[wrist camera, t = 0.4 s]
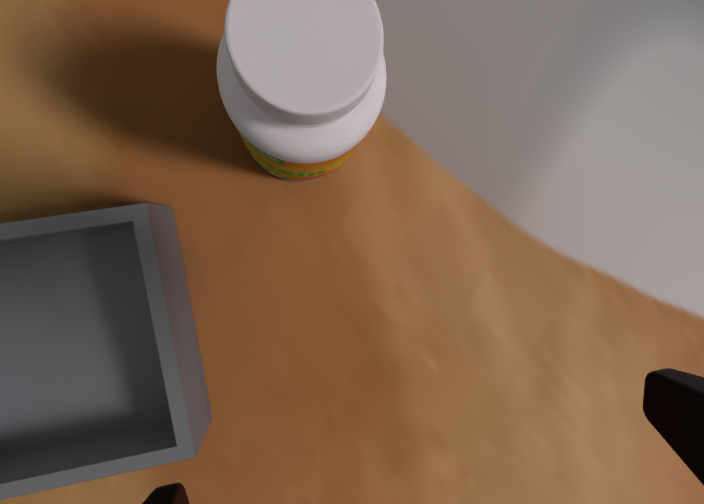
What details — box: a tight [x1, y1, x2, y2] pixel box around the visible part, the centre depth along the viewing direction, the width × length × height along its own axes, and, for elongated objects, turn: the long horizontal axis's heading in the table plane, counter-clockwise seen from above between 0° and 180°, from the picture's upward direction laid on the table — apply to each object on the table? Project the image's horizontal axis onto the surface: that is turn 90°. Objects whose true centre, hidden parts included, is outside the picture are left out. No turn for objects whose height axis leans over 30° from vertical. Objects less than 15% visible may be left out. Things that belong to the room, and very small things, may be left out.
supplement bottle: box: [216, 0, 386, 182], centre depth 15 cm, size 5×5×10 cm
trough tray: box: [0, 203, 212, 500], centre depth 17 cm, size 10×10×4 cm
